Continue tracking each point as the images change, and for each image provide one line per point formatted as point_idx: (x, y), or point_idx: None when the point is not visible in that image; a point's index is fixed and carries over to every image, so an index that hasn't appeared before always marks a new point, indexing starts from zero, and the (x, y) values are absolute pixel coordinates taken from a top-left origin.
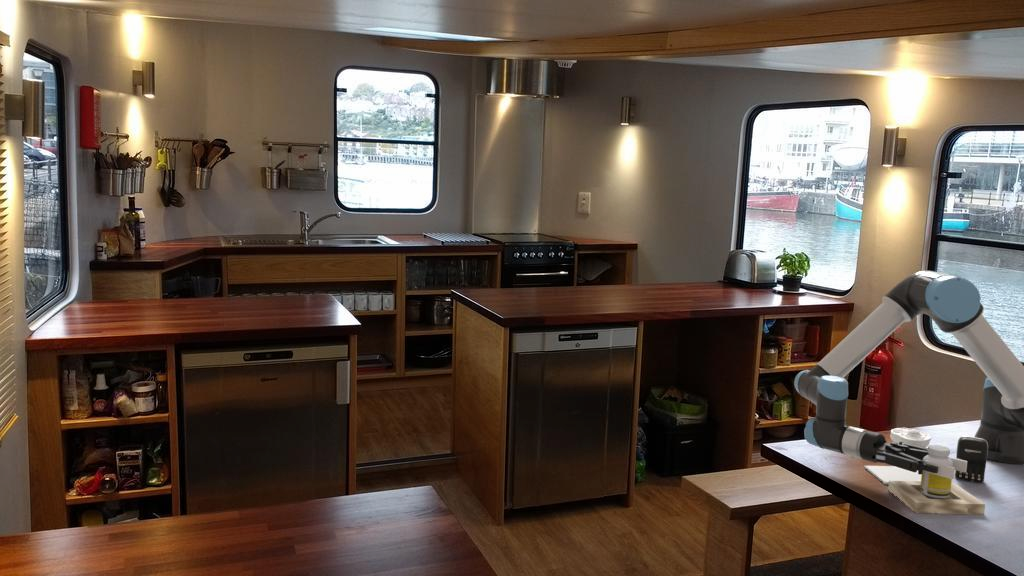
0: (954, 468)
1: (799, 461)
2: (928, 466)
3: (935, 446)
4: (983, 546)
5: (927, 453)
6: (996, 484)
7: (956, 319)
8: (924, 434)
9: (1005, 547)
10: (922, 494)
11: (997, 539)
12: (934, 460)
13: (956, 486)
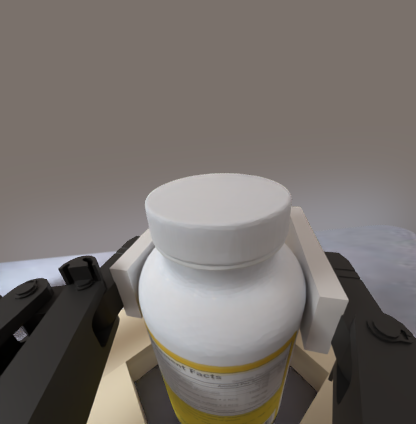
0: (292, 208)
1: None
2: (361, 288)
3: (196, 201)
4: (378, 251)
5: (73, 346)
6: (13, 282)
7: None
8: None
9: (338, 236)
10: (303, 417)
11: (321, 244)
12: (288, 254)
13: (120, 318)
